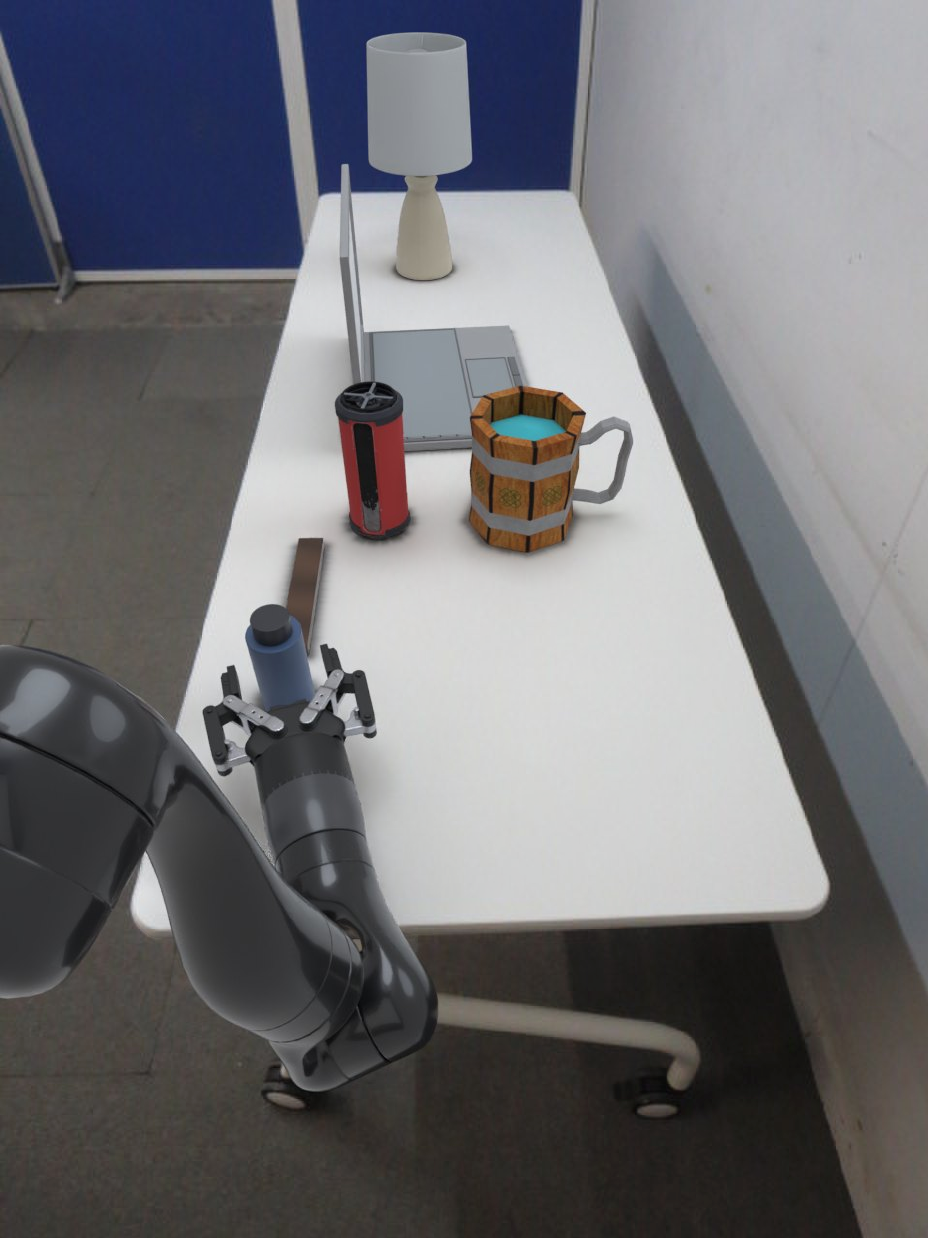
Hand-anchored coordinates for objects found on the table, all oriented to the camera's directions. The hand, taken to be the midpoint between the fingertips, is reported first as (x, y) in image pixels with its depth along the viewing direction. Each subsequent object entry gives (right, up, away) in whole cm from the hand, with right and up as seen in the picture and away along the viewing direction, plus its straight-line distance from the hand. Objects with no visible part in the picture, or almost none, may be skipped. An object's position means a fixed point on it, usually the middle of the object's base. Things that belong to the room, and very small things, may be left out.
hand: (278, 660), depth 74 cm
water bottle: (-1, -4, +8) cm, 9 cm away
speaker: (+6, +16, +28) cm, 33 cm away
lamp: (+9, +73, +84) cm, 112 cm away
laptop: (+14, +40, +52) cm, 67 cm away
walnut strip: (-1, +6, +18) cm, 19 cm away
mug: (+28, +17, +29) cm, 43 cm away
